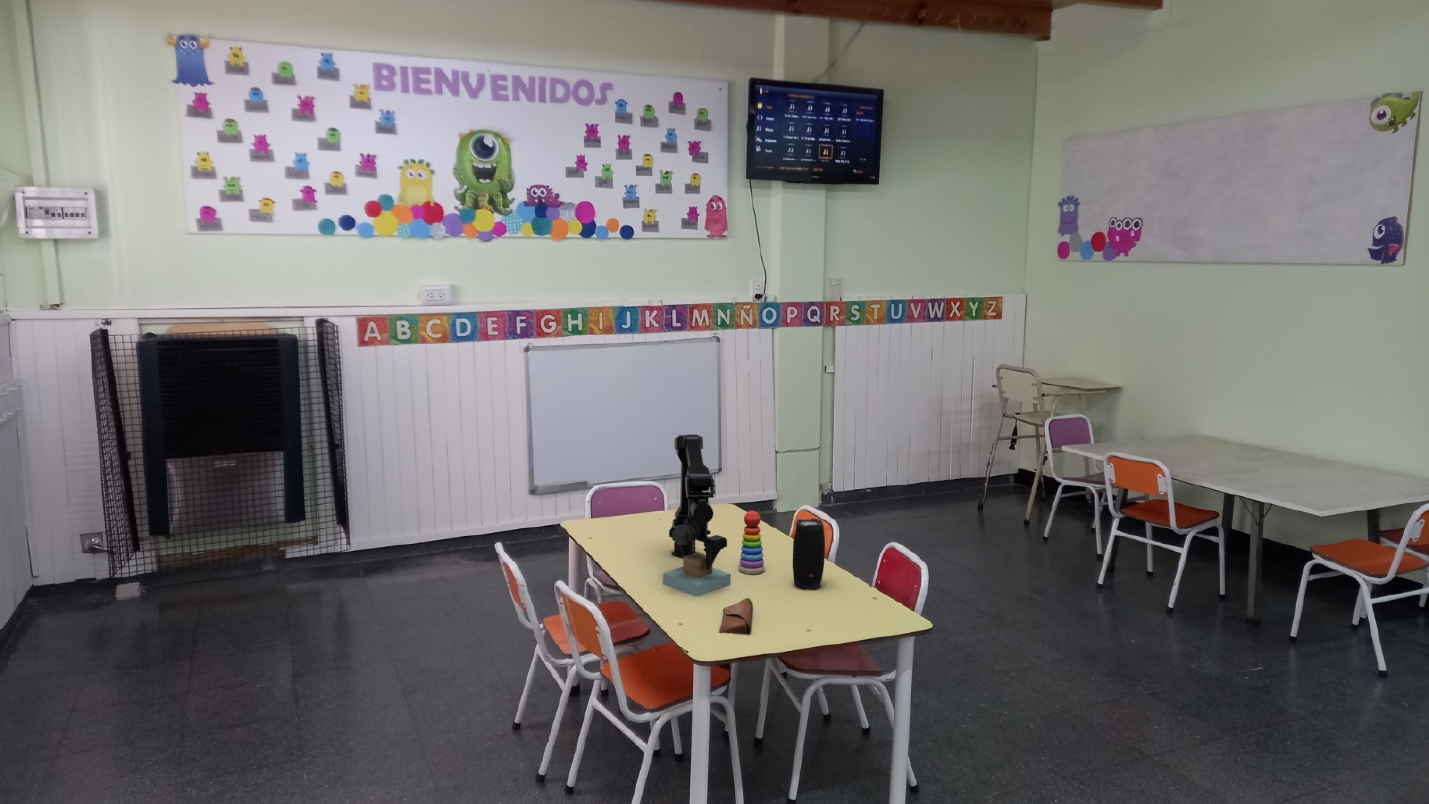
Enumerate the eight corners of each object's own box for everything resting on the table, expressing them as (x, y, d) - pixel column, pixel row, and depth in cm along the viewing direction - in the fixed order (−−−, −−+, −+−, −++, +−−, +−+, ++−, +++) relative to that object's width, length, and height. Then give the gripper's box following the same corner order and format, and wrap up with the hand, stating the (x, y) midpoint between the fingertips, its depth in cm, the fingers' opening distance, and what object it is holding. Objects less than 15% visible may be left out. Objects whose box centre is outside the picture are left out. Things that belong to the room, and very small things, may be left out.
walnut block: (697, 568, 282) (698, 552, 281) (712, 573, 278) (712, 556, 277) (683, 572, 278) (683, 556, 277) (697, 578, 274) (698, 561, 273)
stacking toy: (768, 569, 293) (770, 510, 290) (758, 576, 286) (760, 516, 283) (744, 565, 296) (746, 506, 293) (734, 572, 289) (736, 513, 286)
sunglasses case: (721, 607, 261) (734, 587, 260) (743, 620, 261) (756, 601, 260) (717, 633, 243) (731, 612, 242) (741, 647, 243) (755, 627, 242)
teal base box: (696, 574, 288) (696, 562, 287) (730, 586, 278) (730, 573, 278) (662, 585, 278) (663, 572, 277) (696, 598, 268) (697, 585, 268)
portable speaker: (820, 592, 274) (823, 527, 271) (788, 588, 276) (790, 523, 273) (825, 582, 282) (828, 519, 279) (794, 579, 285) (797, 516, 281)
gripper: (655, 512, 275) (655, 564, 278) (701, 526, 263) (700, 580, 265) (682, 505, 283) (682, 555, 286) (729, 518, 271) (727, 571, 273)
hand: (697, 565), depth 277 cm, fingers open, 9 cm apart
